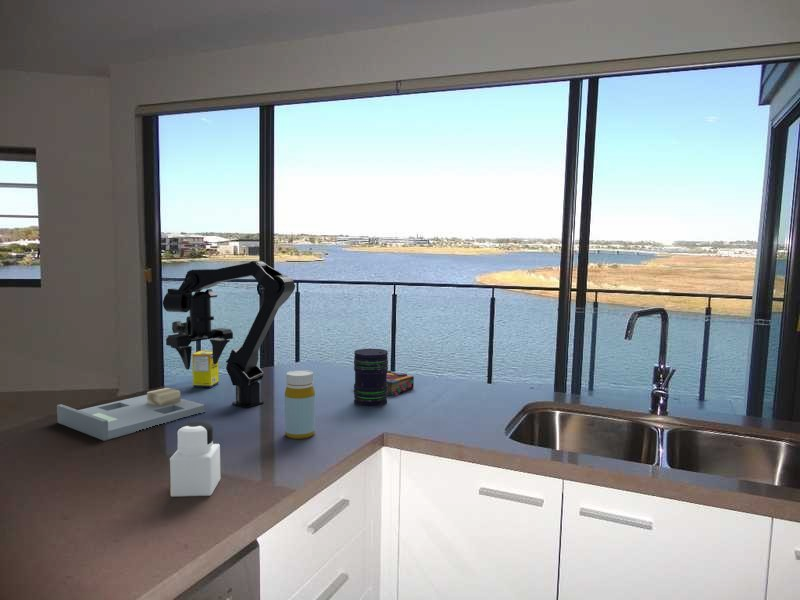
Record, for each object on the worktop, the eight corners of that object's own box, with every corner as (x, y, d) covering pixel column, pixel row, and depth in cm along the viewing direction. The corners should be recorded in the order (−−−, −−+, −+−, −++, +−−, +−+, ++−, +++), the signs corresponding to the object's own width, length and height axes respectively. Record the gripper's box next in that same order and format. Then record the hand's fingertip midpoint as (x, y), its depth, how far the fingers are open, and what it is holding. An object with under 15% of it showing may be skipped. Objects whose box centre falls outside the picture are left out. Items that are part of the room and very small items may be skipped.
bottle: (319, 431, 131) (319, 371, 129) (305, 441, 124) (305, 377, 123) (294, 428, 133) (294, 368, 132) (279, 437, 126) (278, 374, 125)
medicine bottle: (182, 480, 103) (180, 418, 102) (220, 479, 103) (219, 418, 102) (169, 497, 96) (167, 431, 94) (211, 496, 96) (209, 430, 95)
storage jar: (347, 404, 154) (347, 353, 153) (362, 396, 163) (363, 347, 162) (379, 409, 150) (379, 356, 149) (393, 400, 159) (393, 350, 158)
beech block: (180, 401, 148) (180, 390, 148) (160, 406, 143) (160, 395, 143) (167, 398, 151) (167, 387, 151) (147, 403, 146) (147, 392, 146)
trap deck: (205, 412, 145) (205, 395, 145) (104, 440, 123) (103, 421, 122) (157, 398, 157) (157, 383, 157) (57, 422, 135) (56, 405, 135)
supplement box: (219, 383, 176) (218, 350, 175) (210, 388, 170) (210, 354, 169) (201, 383, 177) (200, 350, 176) (192, 387, 171) (192, 353, 170)
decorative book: (379, 382, 182) (379, 367, 182) (417, 390, 172) (417, 374, 172) (356, 388, 173) (356, 373, 173) (394, 397, 163) (395, 381, 163)
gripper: (209, 308, 167) (211, 358, 168) (153, 314, 151) (155, 368, 153) (233, 310, 161) (234, 362, 162) (177, 316, 145) (179, 374, 147)
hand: (201, 366), depth 156 cm, fingers open, 9 cm apart
